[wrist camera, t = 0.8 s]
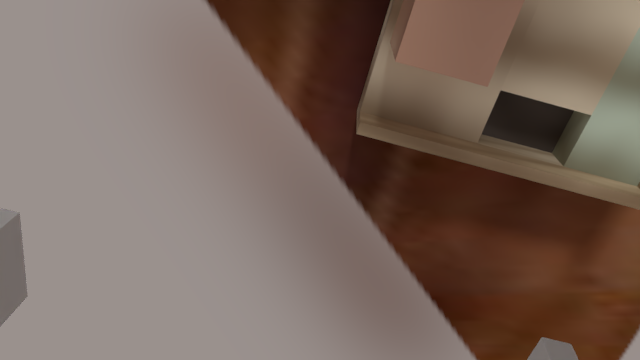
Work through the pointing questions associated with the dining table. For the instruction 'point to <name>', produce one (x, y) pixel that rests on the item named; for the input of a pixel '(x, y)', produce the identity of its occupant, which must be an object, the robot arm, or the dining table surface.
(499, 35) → the terracotta block
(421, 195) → the dining table surface
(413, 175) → the dining table surface
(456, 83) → the tray
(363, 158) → the dining table surface
